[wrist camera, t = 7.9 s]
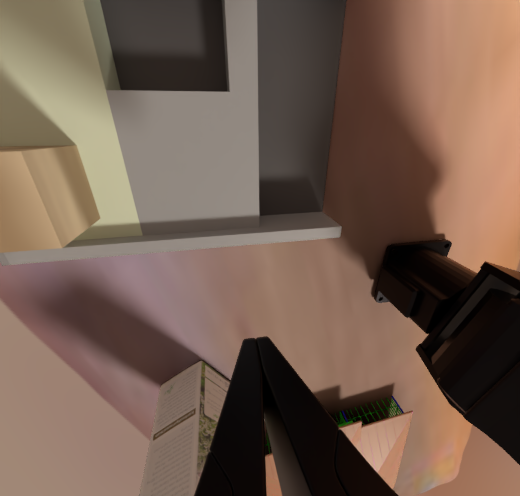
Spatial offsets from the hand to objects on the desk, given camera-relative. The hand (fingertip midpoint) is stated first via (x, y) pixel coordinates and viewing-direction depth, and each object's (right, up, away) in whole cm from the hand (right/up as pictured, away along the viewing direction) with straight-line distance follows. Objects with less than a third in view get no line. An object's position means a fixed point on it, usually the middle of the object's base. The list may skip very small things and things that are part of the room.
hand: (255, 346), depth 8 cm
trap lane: (-5, +11, +7) cm, 14 cm away
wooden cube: (-11, +7, +5) cm, 14 cm away
